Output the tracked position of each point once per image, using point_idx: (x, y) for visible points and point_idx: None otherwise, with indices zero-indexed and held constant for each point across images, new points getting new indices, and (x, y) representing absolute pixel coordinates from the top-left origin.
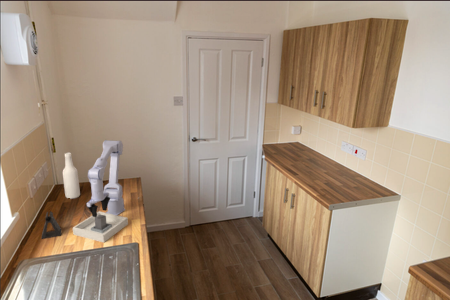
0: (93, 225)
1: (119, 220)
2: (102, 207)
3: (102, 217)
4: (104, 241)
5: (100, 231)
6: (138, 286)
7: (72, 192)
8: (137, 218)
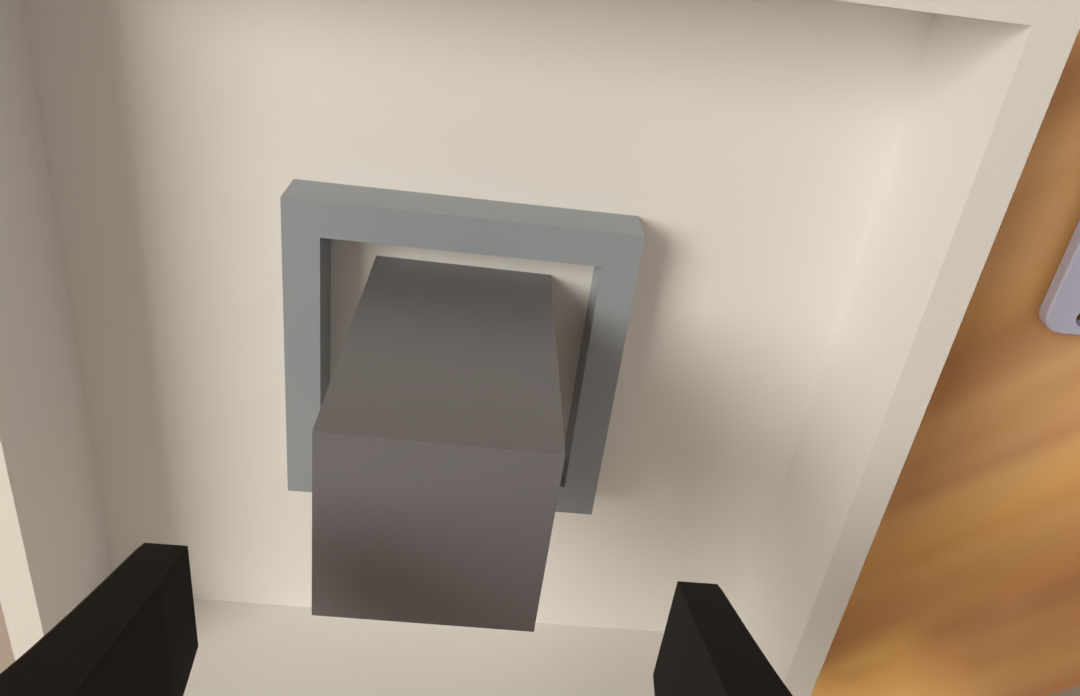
0: (511, 96)
1: (778, 559)
2: (704, 660)
3: (414, 610)
4: None
5: (290, 444)
6: None
7: None
8: (967, 679)
